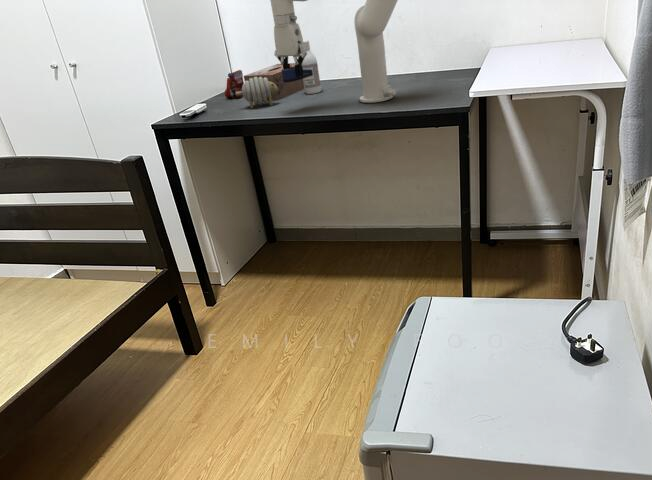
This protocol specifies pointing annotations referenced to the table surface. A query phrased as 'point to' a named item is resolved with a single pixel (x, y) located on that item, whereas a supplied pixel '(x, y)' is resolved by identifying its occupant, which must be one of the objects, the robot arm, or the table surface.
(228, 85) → the toy fire truck
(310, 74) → the navy rounded-end tab
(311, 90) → the bath foam
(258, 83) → the toy sheep
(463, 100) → the table surface
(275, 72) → the tissue box cover
